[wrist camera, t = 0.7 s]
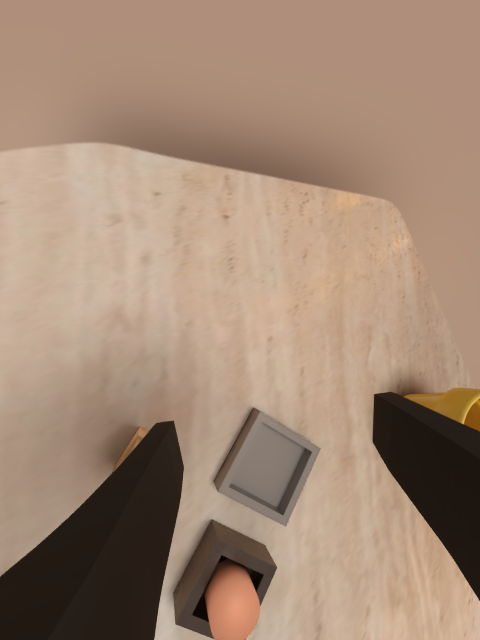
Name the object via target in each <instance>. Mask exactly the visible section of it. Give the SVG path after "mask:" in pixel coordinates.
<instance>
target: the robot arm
mask: <svg viewBox="0 0 480 640" xmlns="http://www.w3.org/2000/svg"><path fill="white" fill-rule="evenodd" d="M373 443H374V445H375V447H376V449H377V450H378V452H379V454H380V456H381V458H382V459H383V461H384V463H385V464H386V466H387V468H388V469H389V471H390V472H391V474H392V475H393V477H394V478H395V479H396V481H397V482H398V483H399V485H400V486H401V488H402V489H403V490H404V492H405V493H406V494H407V496H408V497H409V499H410V500H411V501H412V503H413V504H414V505H415V507H416V508H417V509H418V511H419V512H420V513H421V515H422V516H423V517H424V519H425V520H426V522H427V523H428V524H429V526H430V527H431V528H432V530H433V531H434V532H435V534H436V535H437V536H438V538H439V539H440V541H441V542H442V543H443V545H444V546H445V548H446V549H447V551H448V552H449V553H450V555H451V556H452V558H453V559H454V561H455V562H456V564H457V565H458V567H459V569H460V570H461V572H462V573H463V575H464V577H465V578H466V580H467V581H468V583H469V585H470V586H471V588H472V589H473V591H474V593H475V594H476V596H477V597H478V599H479V600H480V431H478V430H476V429H473V428H471V427H469V426H467V425H464V424H462V423H460V422H458V421H455V420H453V419H451V418H449V417H447V416H444V415H442V414H440V413H438V412H436V411H433V410H431V409H429V408H427V407H425V406H423V405H420V404H418V403H416V402H414V401H412V400H409V399H407V398H405V397H403V396H400V395H398V394H395V393H393V392H387V393H379V394H374V416H373ZM183 471H184V466H183V461H182V456H181V452H180V447H179V443H178V438H177V433H176V429H175V424H174V421H168V422H160V423H156V424H155V425H154V426H153V427H152V429H151V430H150V431H149V432H148V433H147V434H146V436H145V437H144V438H143V439H142V440H141V441H140V443H139V444H138V445H137V446H136V447H135V448H134V450H133V451H132V452H131V453H130V454H129V455H128V456H127V457H126V459H125V460H124V461H123V462H122V463H121V464H120V465H119V467H118V468H117V469H116V470H115V471H114V472H113V473H112V474H111V475H110V476H109V477H108V478H107V479H106V480H105V481H104V482H103V483H102V485H101V486H100V487H99V488H98V489H97V490H96V491H95V492H94V493H93V494H92V495H91V496H90V497H89V498H88V499H87V500H86V501H85V502H84V503H83V504H82V505H81V506H80V507H79V508H78V509H77V510H76V511H75V512H74V513H73V514H72V515H71V516H70V517H69V518H68V519H66V520H65V521H64V522H63V523H62V524H61V525H60V526H59V527H58V528H57V529H55V530H54V531H53V532H52V533H51V534H50V535H49V536H48V537H47V538H46V539H44V540H43V541H42V542H41V543H40V544H39V545H38V546H36V547H35V548H34V549H33V550H32V551H30V552H29V553H28V554H27V555H26V556H24V557H23V558H22V559H21V560H20V561H18V562H17V563H16V564H15V565H14V566H12V567H11V568H10V569H9V570H8V571H6V572H5V573H4V574H3V575H2V576H0V640H154V637H155V630H156V622H157V615H158V608H159V601H160V596H161V590H162V585H163V580H164V575H165V570H166V566H167V561H168V556H169V552H170V547H171V542H172V538H173V533H174V528H175V524H176V519H177V514H178V509H179V504H180V499H181V491H182V481H183Z"/></svg>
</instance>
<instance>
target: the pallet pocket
mask: <svg viewBox="0 0 480 640" xmlns="http://www.w3.org/2000/svg"><path fill="white" fill-rule="evenodd" d="M320 449H321V448H319V447H317V446H316V445H314V444H313V443H311V442H309V441H308V440H306V439H304V438H303V437H301V436H299V435H298V434H296V433H295V432H293V431H291V430H290V429H288V428H286V427H285V426H283V425H281V424H280V423H278V422H277V421H275V420H273V419H272V418H270V417H268V416H267V415H265V414H263V413H262V412H260V411H258V410H257V409H255V408H253V410H252V412H251V413H250V415H249V417H248V419H247V421H246V423H245V425H244V426H243V428H242V430H241V432H240V434H239V436H238V438H237V439H236V441H235V443H234V445H233V447H232V449H231V451H230V453H229V454H228V456H227V458H226V460H225V462H224V464H223V466H222V467H221V469H220V471H219V473H218V475H217V477H216V479H215V480H214V483H215V486H216V488H217V491H218V492H220V493H222V494H224V495H226V496H228V497H229V498H231V499H233V500H235V501H237V502H239V503H241V504H243V505H245V506H247V507H249V508H251V509H253V510H255V511H257V512H259V513H260V514H262V515H264V516H266V517H268V518H270V519H272V520H274V521H276V522H278V523H280V524H282V525H284V526H286V525H287V523H288V520H289V518H290V516H291V514H292V512H293V509H294V507H295V505H296V503H297V500H298V498H299V496H300V494H301V491H302V489H303V487H304V485H305V482H306V480H307V478H308V476H309V473H310V471H311V469H312V467H313V465H314V462H315V460H316V458H317V456H318V453H319V451H320Z"/></svg>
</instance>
